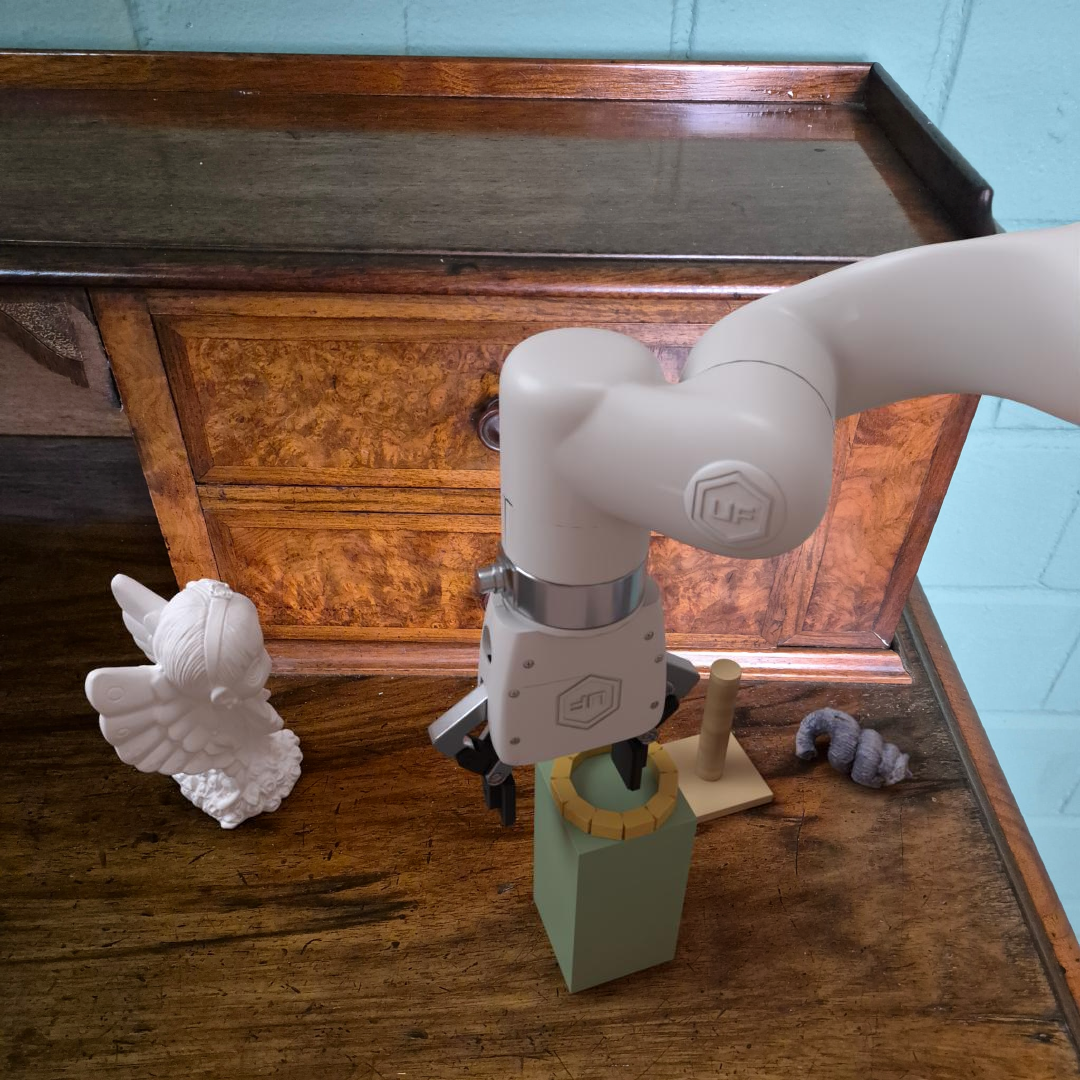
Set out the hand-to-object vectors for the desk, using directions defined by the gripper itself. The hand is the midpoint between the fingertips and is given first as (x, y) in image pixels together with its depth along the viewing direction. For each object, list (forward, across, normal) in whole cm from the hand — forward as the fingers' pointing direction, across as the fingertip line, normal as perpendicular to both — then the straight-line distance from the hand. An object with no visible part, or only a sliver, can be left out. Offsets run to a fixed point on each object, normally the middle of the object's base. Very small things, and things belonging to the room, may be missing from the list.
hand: (565, 789), depth 59 cm
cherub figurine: (+17, -22, +23) cm, 36 cm away
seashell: (+17, +30, +7) cm, 35 cm away
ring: (+1, +3, 0) cm, 4 cm away
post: (+17, +17, +10) cm, 26 cm away
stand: (+17, +3, 0) cm, 17 cm away
